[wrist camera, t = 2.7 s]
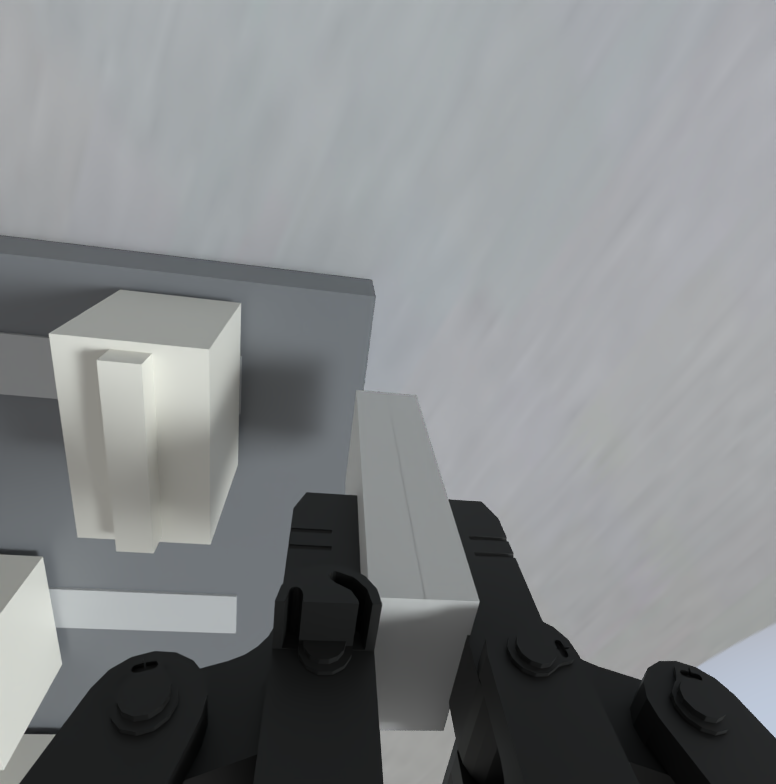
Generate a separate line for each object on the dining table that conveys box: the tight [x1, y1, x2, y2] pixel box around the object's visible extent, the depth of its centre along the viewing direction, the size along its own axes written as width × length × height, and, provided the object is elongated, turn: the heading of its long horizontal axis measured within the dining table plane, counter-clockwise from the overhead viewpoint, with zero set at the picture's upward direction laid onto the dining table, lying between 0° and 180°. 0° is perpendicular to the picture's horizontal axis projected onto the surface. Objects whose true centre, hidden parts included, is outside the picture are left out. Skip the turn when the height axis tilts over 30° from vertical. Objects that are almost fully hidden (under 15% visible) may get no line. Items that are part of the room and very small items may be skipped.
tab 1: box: [49, 290, 241, 553], centre depth 12 cm, size 3×5×4 cm, turn 172°
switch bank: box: [0, 235, 376, 734], centre depth 18 cm, size 22×24×2 cm
